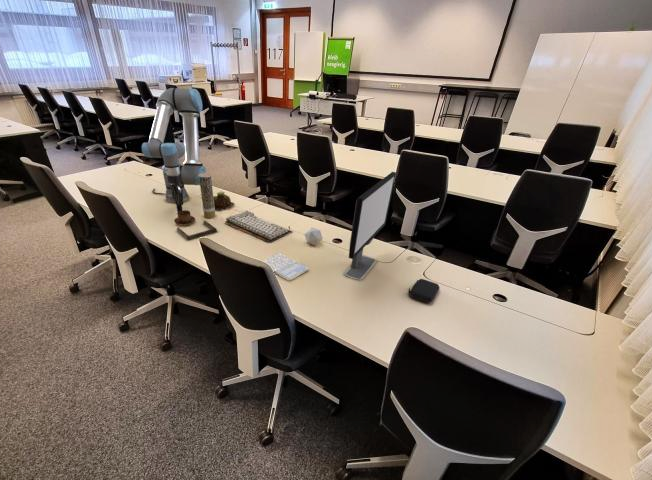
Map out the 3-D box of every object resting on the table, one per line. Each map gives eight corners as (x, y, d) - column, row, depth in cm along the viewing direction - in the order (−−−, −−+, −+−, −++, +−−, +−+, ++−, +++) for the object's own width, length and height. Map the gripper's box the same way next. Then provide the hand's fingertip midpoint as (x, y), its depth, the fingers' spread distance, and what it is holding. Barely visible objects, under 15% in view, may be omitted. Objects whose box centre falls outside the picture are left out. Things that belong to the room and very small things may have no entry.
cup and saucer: (190, 228, 188) (188, 217, 184) (171, 225, 189) (169, 215, 186) (199, 219, 197) (197, 209, 193) (180, 217, 199) (178, 207, 195)
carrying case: (415, 281, 149) (404, 296, 139) (416, 275, 147) (406, 290, 137) (439, 289, 144) (430, 306, 134) (441, 283, 142) (432, 300, 132)
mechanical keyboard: (292, 231, 187) (292, 226, 185) (269, 243, 175) (269, 237, 173) (245, 214, 206) (245, 208, 204) (222, 223, 194) (221, 218, 192)
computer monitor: (352, 290, 142) (368, 200, 118) (334, 284, 145) (346, 195, 121) (383, 252, 170) (401, 173, 146) (368, 248, 173) (383, 169, 149)
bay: (177, 231, 184) (176, 228, 183) (205, 223, 193) (204, 220, 192) (188, 240, 175) (187, 237, 174) (216, 232, 184) (216, 228, 183)
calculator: (278, 255, 165) (278, 252, 164) (308, 270, 154) (309, 267, 153) (259, 265, 157) (258, 261, 156) (289, 281, 146) (289, 278, 145)
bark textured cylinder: (216, 214, 204) (212, 173, 189) (213, 218, 198) (208, 176, 184) (206, 213, 204) (200, 172, 189) (202, 218, 199) (197, 176, 184)
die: (324, 244, 177) (320, 226, 177) (321, 243, 168) (317, 224, 168) (309, 248, 179) (305, 230, 179) (306, 247, 171) (301, 228, 170)
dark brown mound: (219, 199, 224) (217, 185, 218) (239, 204, 218) (238, 189, 213) (203, 208, 211) (201, 193, 205) (224, 213, 206) (222, 197, 200)
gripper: (162, 172, 182) (170, 213, 196) (171, 178, 174) (179, 220, 188) (175, 170, 186) (182, 210, 200) (185, 176, 178) (191, 217, 192)
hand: (180, 215), depth 194 cm, fingers closed
